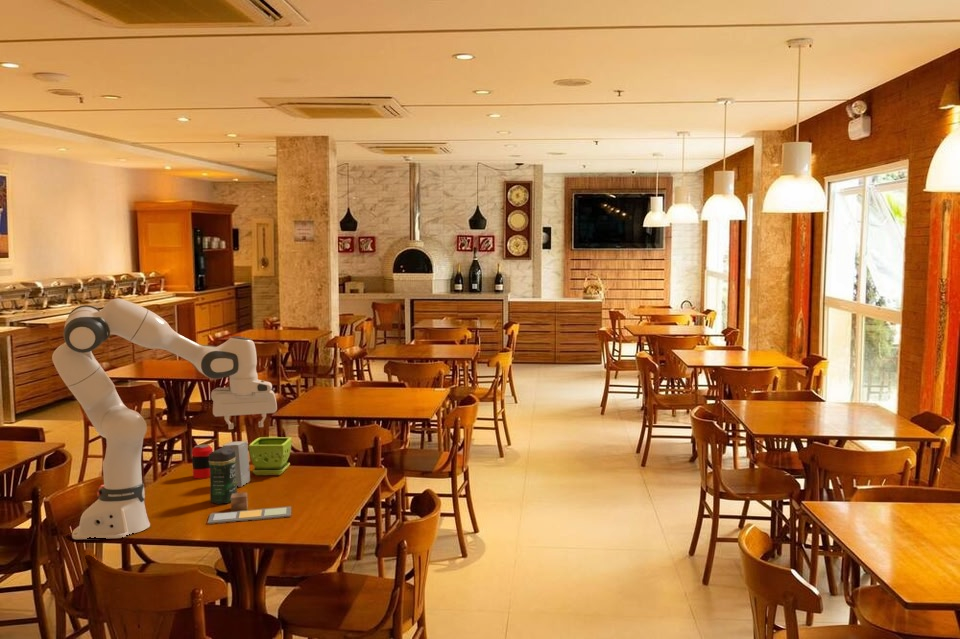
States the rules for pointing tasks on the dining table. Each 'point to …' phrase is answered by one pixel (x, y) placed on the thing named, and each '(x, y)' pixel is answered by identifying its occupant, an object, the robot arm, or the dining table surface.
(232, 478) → the coffee jar
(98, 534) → the robot arm
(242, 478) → the skincare box
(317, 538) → the dining table surface
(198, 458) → the soda can
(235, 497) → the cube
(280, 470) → the flower pot
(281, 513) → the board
